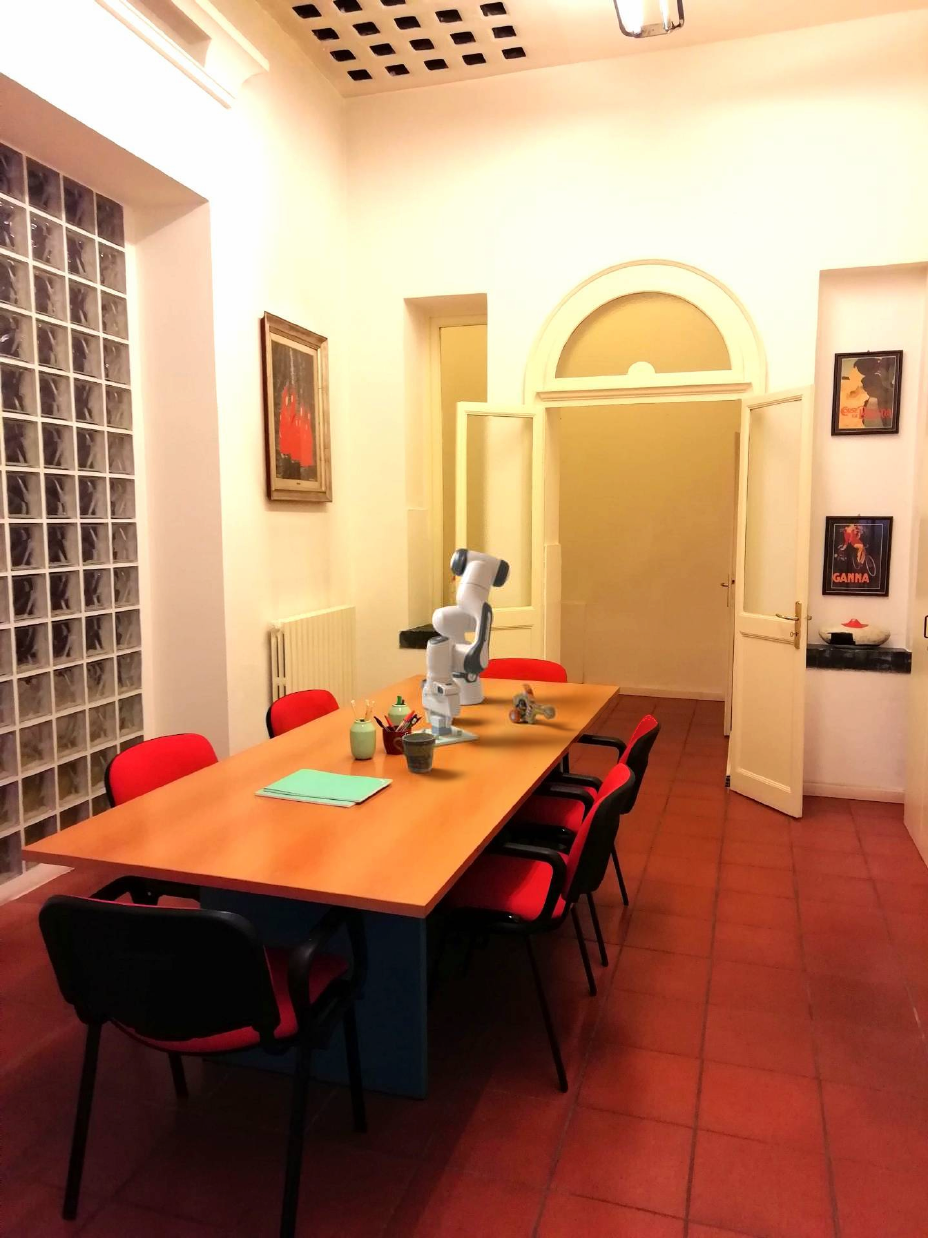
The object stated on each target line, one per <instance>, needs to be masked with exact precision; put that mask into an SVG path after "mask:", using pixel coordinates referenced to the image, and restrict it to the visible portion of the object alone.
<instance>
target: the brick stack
mask: <svg viewBox="0 0 928 1238" xmlns="http://www.w3.org/2000/svg"><path fill="white" fill-rule="evenodd" d="M446 719H447V718H446V715H443V714H441V715H435V716H431V723H430V725H431V726H430V729H431V733H432V734H439V736H444V735H449V734H452V729H451V728H445V722H446Z"/></svg>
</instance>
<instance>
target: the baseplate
mask: <svg viewBox="0 0 928 1238" xmlns="http://www.w3.org/2000/svg"><path fill="white" fill-rule="evenodd" d="M451 729H452V734H449V735H444V736H439V734H433V735H435V736H436V742H435V747H441V746H444V745H450V744H455V743H461V742H467V741H473V740H478V739H479V735H477V734H474V733H473V732H472V733H471V732H470V731H467V730H464V729H462V728H458V727H456V726H453V725H451ZM412 732H413V733H430V734H432V733H431V728H428V729H427V728H421V729H420V730H416V731H415V730H414V731H412Z"/></svg>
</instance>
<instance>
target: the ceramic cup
mask: <svg viewBox="0 0 928 1238" xmlns="http://www.w3.org/2000/svg"><path fill="white" fill-rule="evenodd" d="M396 741H400V742H401V743H402V745H403V749H402V748H401V747H399V746H398V745H397V744H396ZM435 742H436V736H435V735H433V734H430V733H412V734H407V735H406V734H404V735H403V736H402V738H401V737H396V738H395V739H394V741H393V746H395V748H396V749H397V750H399V751H400V752H401V754H402V755H404V757H405V760H406V764H407V769H408V771H409V772H411V773H416V774H417V773H418V774H423V773H428V772H430V771H431V770H432V768H433V759H434V755H435V754H434V753H435V747H436V746H435Z"/></svg>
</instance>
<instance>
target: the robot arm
mask: <svg viewBox="0 0 928 1238" xmlns="http://www.w3.org/2000/svg"><path fill="white" fill-rule="evenodd" d="M450 571H451V572H452V574H454V575H455V576H457V577H461V578H460V581H459V584H458V587H457V592H456V595H455V596H456V597H455V598H456V600H455V601H456V604H457V605H449V606H448V605H447V606H445V607H441V608H438V609H435V611H434V612H433V614H432V618H431V620H432V621H431V623H432V626H433V629H434V630H435V631H436V632H437V633H438V634H440V635H439V636H434V637H431V638H430V639H429V640H428V641H427V644H426V645H427V646H426V656H425V659H426V661H425V662H426V668H427V671H426V679H427V682H426V683H425V684H424V688H423V692H422V691H421V704H422V707H424V708H427V709H428V710H429V714H430V717H431V716H435V715H436V714H435V712H438V713H441V714H443V715H446V718H447V719H446V722H445V728H451V726H452V722H453V719H454V718H456V717H459V716H460V714H461V706H462V705H463V706H466V705H468V706H469V705H476V704H480V703H482V702H483V700H485V699H486V697H485V695H484V694H483V684H482V679H481V678H480V677H479V676H480V674H482V673H484V672H485V671H486V670H487V668H488V666H489V664H490V641H491V632H492V625H493V623H494V620H495V619H494V612H493V607H492V606H491V604H489V595H490V591H491V587H494V588H501V587H504V585H505V584H506V583H507V582H508V579H509V578H510V574H511V571H510V564H509V563H508V561H506V560H504V559H502V558H497V557H496V556H493V555H491V554H488V553H482V552H479V551H475V550H469V549H468V548H458V549H457V550H456V551H455V552H454V553H453V555H452V556H451V559H450ZM474 632H475V635H474V641H473V642H471V641H469V640H467V639H466V636H465V633H474ZM424 708H423V709H424Z"/></svg>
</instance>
